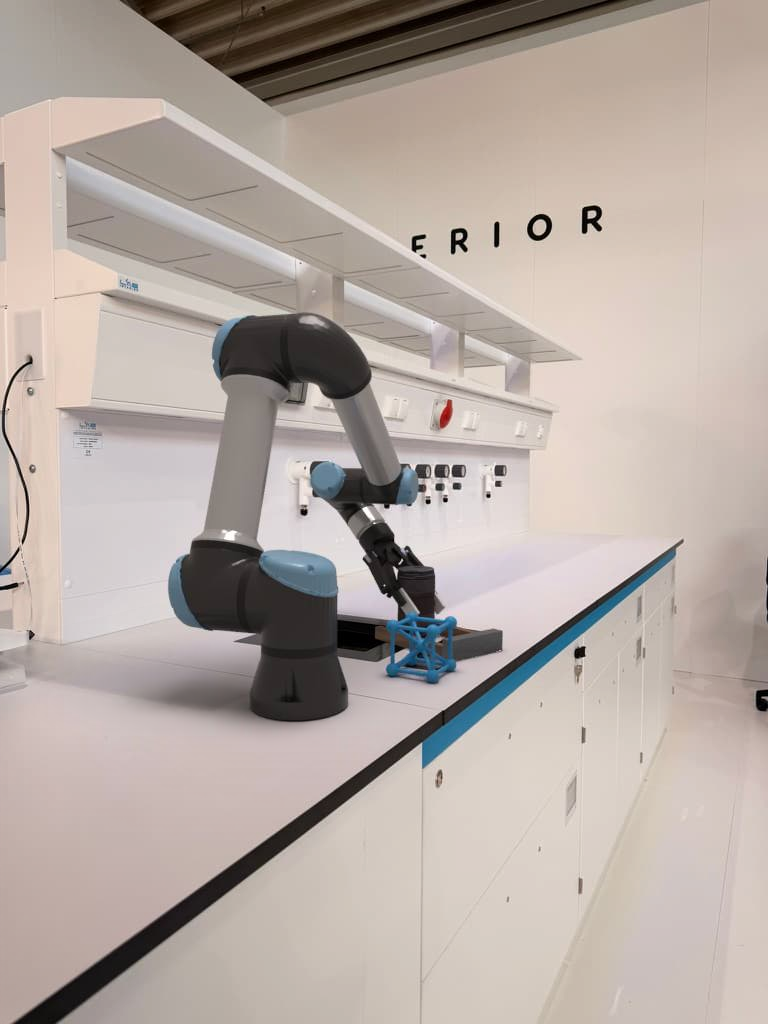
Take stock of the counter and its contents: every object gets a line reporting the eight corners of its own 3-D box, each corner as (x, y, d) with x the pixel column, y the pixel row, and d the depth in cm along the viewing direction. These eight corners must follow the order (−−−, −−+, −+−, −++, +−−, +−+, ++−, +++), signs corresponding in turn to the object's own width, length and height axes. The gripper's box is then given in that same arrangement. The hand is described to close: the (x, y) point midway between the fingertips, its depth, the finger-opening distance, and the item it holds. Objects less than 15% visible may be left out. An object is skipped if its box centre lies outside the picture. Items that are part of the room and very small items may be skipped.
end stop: (451, 662, 137) (451, 641, 137) (442, 659, 139) (442, 638, 139) (502, 650, 146) (502, 630, 146) (493, 648, 148) (493, 628, 148)
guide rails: (442, 659, 139) (442, 646, 139) (375, 638, 156) (375, 626, 155) (493, 648, 148) (493, 635, 148) (424, 629, 164) (424, 618, 164)
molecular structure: (408, 663, 137) (408, 610, 136) (458, 670, 133) (459, 615, 132) (383, 676, 128) (383, 620, 128) (435, 685, 124) (436, 626, 123)
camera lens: (399, 632, 161) (399, 564, 160) (436, 634, 159) (437, 565, 158) (393, 641, 153) (394, 570, 152) (432, 643, 151) (433, 571, 150)
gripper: (393, 539, 173) (448, 616, 163) (329, 546, 157) (385, 633, 148) (411, 517, 169) (468, 595, 159) (347, 523, 153) (406, 610, 144)
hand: (428, 613), depth 153 cm, fingers closed on camera lens, 8 cm apart
